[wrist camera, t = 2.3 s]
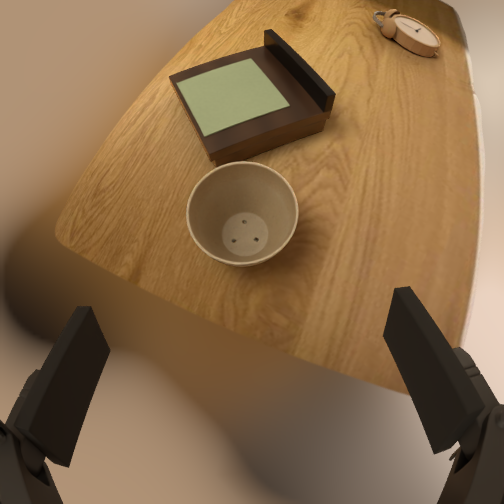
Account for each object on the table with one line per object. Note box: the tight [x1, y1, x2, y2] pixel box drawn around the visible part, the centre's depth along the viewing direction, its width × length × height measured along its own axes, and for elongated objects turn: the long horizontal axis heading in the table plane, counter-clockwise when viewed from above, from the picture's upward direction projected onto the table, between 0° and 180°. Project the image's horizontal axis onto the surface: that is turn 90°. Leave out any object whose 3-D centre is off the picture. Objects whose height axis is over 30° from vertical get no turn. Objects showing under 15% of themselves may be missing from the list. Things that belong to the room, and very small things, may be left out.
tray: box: [169, 29, 336, 168], centre depth 36 cm, size 16×16×7 cm
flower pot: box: [186, 161, 299, 267], centre depth 31 cm, size 10×10×7 cm
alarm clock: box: [373, 9, 441, 57], centre depth 44 cm, size 11×5×15 cm
